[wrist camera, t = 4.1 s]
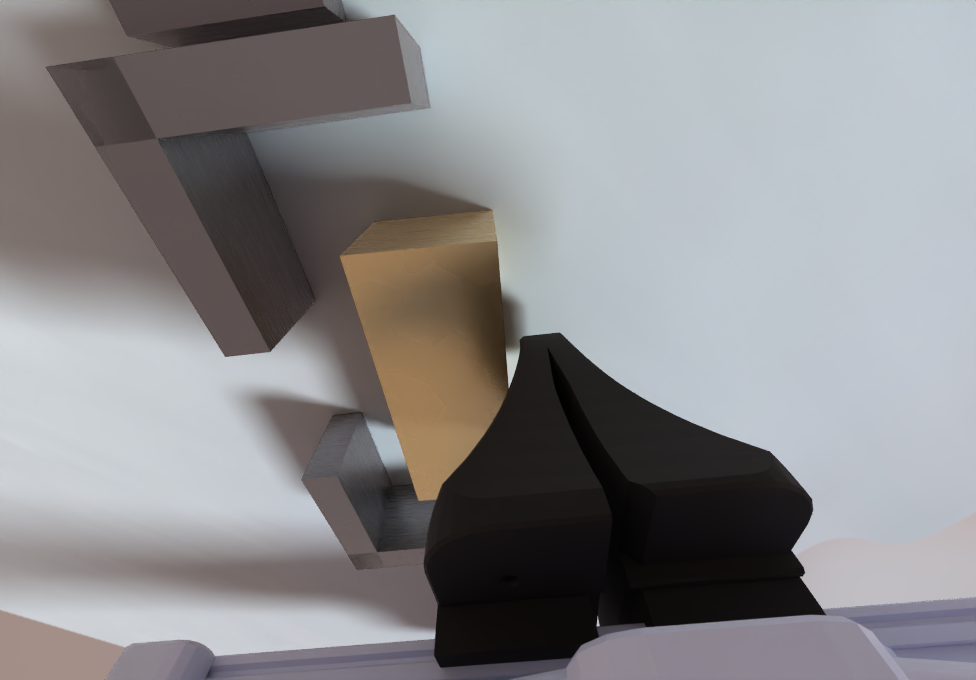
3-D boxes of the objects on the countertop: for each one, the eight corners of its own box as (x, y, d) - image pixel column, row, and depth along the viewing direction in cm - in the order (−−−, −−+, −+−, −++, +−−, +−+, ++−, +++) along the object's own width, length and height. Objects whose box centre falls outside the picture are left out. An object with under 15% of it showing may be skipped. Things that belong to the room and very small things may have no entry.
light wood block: (509, 426, 15) (516, 493, 13) (429, 433, 15) (418, 500, 13) (492, 208, 10) (497, 240, 8) (375, 220, 11) (339, 255, 8)
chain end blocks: (501, 527, 19) (504, 591, 16) (390, 537, 19) (376, 601, 17) (385, -156, 7) (329, -323, 4) (85, -104, 7) (-141, -234, 4)
